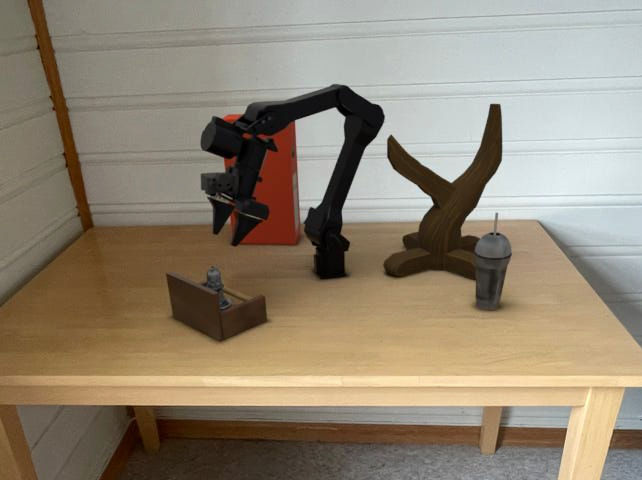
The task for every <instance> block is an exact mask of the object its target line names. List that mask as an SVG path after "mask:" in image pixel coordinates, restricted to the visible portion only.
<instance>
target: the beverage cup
mask: <svg viewBox="0 0 642 480" xmlns="http://www.w3.org/2000/svg"><path fill="white" fill-rule="evenodd" d="M498 219H499V212H498V211H497V212H495V213H494V225H493V231H491V232H488V233H486V234H483V236H481V237H479V238H480V240H479V241H478V243H477V245H476V248H475V251H474V254H475V263H476V279H475V306H476V308H477V309H480V310H482V311H494V310H497V309H498V308H499V305H500V302H501V298H502V294H503V288H504V285H505V280H506V275H507V270H508V267H509V264H510V261H511V258H512V256H513V252H512V245H511V242H510V239H509V238H508V237H507V236H506V235H505V234H503V233H501V232H498V231H497V229H498V221H499V220H498Z"/></svg>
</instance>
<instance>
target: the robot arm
mask: <svg viewBox="0 0 642 480" xmlns="http://www.w3.org/2000/svg"><path fill="white" fill-rule="evenodd" d="M334 108H335V109H336V110H337V112H338V113H339V114H340V115H342V116H343V117H344V122H343V135H344V140H343V143H342V146H341V149H340V152H339V155H338V157H337V160H336V163H335V165H334V168H333V171H332V173H331V176H330V178H329V181H328V183H327V186H326V189H325V192H324V194H323V198H322V199H321V202H320V203H319V204H318V205H317V206H316V207H313V206H310V207H309V208H308V211H307V215H306V218H305V220H303V225H304V228H303V232H304V235H305V237H306V238H307V239H308V240H309V241H310V244H311V245H312V246H313V247H315V248H314V249H315V251H314V252H315V253H314V254H313V255H312V256H313V271H314V272H315V274H316V275H317V276H318V277H319V279H321V280H326V279H333V278H342V277H347V276H348V272H346V268H345V267H346V263H345V261H346V259H345V253H347V252H349V249H350V246H351V241H349V239H347V238H346V236H344V235H343V234H342V229H343V225H344V222H343V220H344V219H343V208H344V206H345V203H346V201H347V198H348V195H349V193H350V190H351V187H352V184H353V182H354V179H355V176H356V174H357V171H358V168H359V166H360V163H361V160H362V158H363V155H364V153H365V150H366V148H367V147H368V146H369V145H370V144H372V142H373V141H374V140H375V139H376V138H377V137H378V135H379V133H380V132H381V129H382V127H383V125H384V124H385V120H386V115H385V113H384V109H383V108H382V106H381V105H380V104H378V103H373V102H371V101H370V100H368V99H366V98H365V97H363V96H361V95H360V94H358V93H357V92H355V90H353V89H352V88H350V87H349V85H346V84H339V83H333V84H331V85H329V86H326V87H324V88H320V89H316V90H314V91H310V92H306V93H304V94H301V95H298V96H294V97H291V98H288V99H285V100H283V99H282V100H265V101H263V100H262V101H254V102H251V103H250V104H248V105H247V107H246V109H245V112H243V113H242V114H243V115H242V116H240V117H239V118H238V119H237V120H235V121H234V122H233V123H229V122H226V121H225V120H223V119H222V118H223V117H222V118H221V117H220V116H217V115H212V117H211V120H210V121H209V122H207V124H206V125H205V127H204V130H202V133H201V136H200V141H199V143H200V149H201V150H202V151H204V152H206V153H208V154H212V155H214V156H217V157H220V158H222V159H224V158H225V159H228V160H229V159H232V158H233V157H234V156H235V160H234V163H233V167H232V166H228V167H227V168H226V171H225V170H224V171H223V172H221V171H219V172H201V173H200V190H201V191H204V194H205V195H207V196H206V198H207V200H208V201H209V203H210V205H211V206H212V234H213V235H214V236H218V235H219V234H220V232H221V231H222V230H223V228H224V226H225V224H226V223H227V221H228V220H229V219H230V215H231V213H232V212H233V213H234V216H235V218H236V222H235V227H234V231H233V236H232V235H231V243H230V245H231V247H235V248H237V247H238V246H239V245H240V244H239V243H240V242H241V241H242V240H243V239H244V238H245V237H246V236H247V235H248V234H249V233H250V232H251V231H252V230H253V229H254V228H255V227H256V226H257V225H258V224H259V223H262V222H263V220H261V219H264V220H267V219H268V216H269V213H270V210H269V207H268V206H267V205H265V204H263V203H261V202H259V201H256V197H254V196H253V194H254V191H255V188H256V185H257V182H260V183H262V180H263V178H262V177H259V176H260V173H261V172H260V171H261V169H262V166H263V163H264V160H265V157H266V154H267V151H268V150H270V151H273V152H278V149H277V147H276V145H275V143H274V139H273V138H270V137H267V138H266V139H262V138H260V137H257V136H258V135H261V134H262V135H265V136H272V135H275V134H276V133H278V132H280V131H282V130H284V129H285V128H287V127H288V126H289V125H290V124H291V123H292V122H294V121H295V122H296V121H298V120H301V119H304V118H307V117H310V116H314V115H316V114H319V113H322V112H325V111H328V110H332V109H334ZM244 133H245V134H249V135H252V136H251V137H249V138H245V137H243V135H244ZM236 162H237V163H236ZM258 170H259V171H258ZM229 202H232V203H234V204H235V206H234V205H232V204H230V203H229ZM234 209H236V210H238V211H240V212H238V211H234ZM260 218H261V219H260Z"/></svg>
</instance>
